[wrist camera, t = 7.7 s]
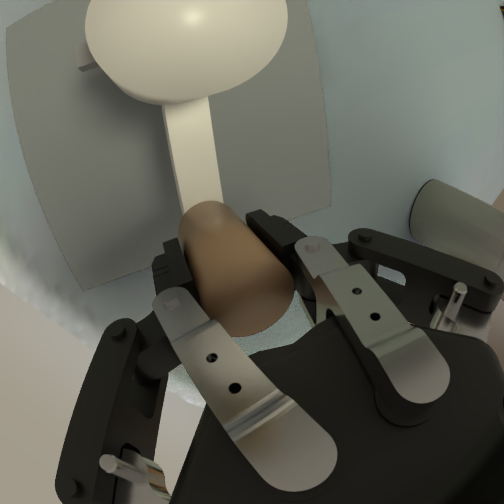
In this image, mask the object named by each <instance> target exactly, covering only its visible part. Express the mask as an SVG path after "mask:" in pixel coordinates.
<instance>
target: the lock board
mask: <svg viewBox="0 0 504 504" xmlns="http://www.w3.org/2000/svg"><path fill="white" fill-rule="evenodd" d="M90 1H91V0H55V1H53V2H51V3H49V4H47V5H45V6H43V7H41V8H39V9H37V10H36V11H34V12H32V13H30V14H28V15H27V16H25V17H23V18H22V19H20V20H18V21H17V22H15V23H13V24H12V25H10V26H9V27H7V28H6V55H7V70H8V80H9V88H10V96H11V102H12V108H13V113H14V118H15V123H16V128H17V132H18V136H19V140H20V144H21V148H22V152H23V155H24V159H25V162H26V165H27V169H28V172H29V175H30V178H31V181H32V184H33V186H34V189H35V192H36V195H37V197H38V200H39V203H40V205H41V208H42V210H43V213H44V215H45V217H46V220H47V222H48V224H49V227H50V229H51V231H52V233H53V235H54V238H55V240H56V242H57V244H58V246H59V248H60V250H61V252H62V254H63V256H64V258H65V260H66V262H67V264H68V266H69V267H70V269H71V271H72V273H73V275H74V277H75V278H76V280H77V282H78V284H79V285H80V287H81V289H82V290H83V291H85V290H88V289H91V288H93V287H96V286H99V285H101V284H104V283H107V282H109V281H112V280H115V279H118V278H120V277H123V276H126V275H129V274H131V273H134V272H137V271H140V270H142V269H145V268H148V267H151V266H152V262H153V260H154V258H155V257H156V256H158V255H161V254H164V253H165V252H164V248H163V242H165V241H168V240H171V239H173V238H176V237H177V238H178V227H179V223H180V220H181V218H182V217H183V214H182V210H181V206H180V201H179V197H178V192H177V187H176V183H175V178H174V173H173V168H172V163H171V158H170V153H169V147H168V142H167V136H166V131H165V125H164V119H163V113H162V107H161V105H153V104H148V103H145V102H142V101H139V100H136V99H134V98H132V97H130V96H129V95H127V94H126V93H124V92H123V91H122V90H121V89H120V88H119V87H118V86H117V85H116V84H115V83H114V82H113V81H112V80H111V79H110V77H109V76H108V75H107V74H106V73H105V72H104V71H103V69H102V68H101V67H100V66H99V67H96V68H93V69H90V70H88V71H85V72H82V71H80V70H79V69H78V68H77V62H76V49H75V45H76V44H79V43H81V42H84V41H86V34H85V18H86V14H87V9H88V6H89V4H90ZM285 1H286V5H287V12H288V21H287V29H286V33H285V37H284V39H283V42H282V44H281V46H280V48H279V50H278V51H277V53H276V55H275V56H274V57H273V58H272V60H271V61H270V62H269V63H268V64H267V65H266V66H265V67H264V68H263V69H262V70H261V71H260V72H258V73H257V74H256V75H254V76H253V77H252V78H250V79H249V80H247V81H245V82H243V83H242V84H240V85H238V86H235V87H233V88H231V89H229V90H225V91H222V92H219V93H216V94H213V95H210V96H208V101H209V108H210V115H211V123H212V130H213V137H214V143H215V150H216V157H217V164H218V170H219V177H220V183H221V190H222V196H223V202H224V204H226V205H228V206H229V207H230V208H231V209H232V210H233V211H234V212H235V213H236V214H237V215H238V216H239V217H240V218H241V220H242V221H243V222H244V223H245V224H246V218H245V215H246V213H249V212H252V211H255V210H258V209H262V210H263V211H265V212H266V213H267V214H268V215H269V216H272V215H276V216H280V217H283V218H284V219H286V220H289V219H292V218H295V217H298V216H301V215H304V214H308V213H311V212H314V211H317V210H320V209H323V208H326V207H330V206H331V185H330V166H329V151H328V138H327V127H326V116H325V107H324V98H323V90H322V83H321V76H320V69H319V62H318V56H317V50H316V44H315V39H314V33H313V28H312V23H311V18H310V14H309V9H308V5H307V0H285ZM246 225H247V224H246ZM178 241H179V238H178ZM179 243H180V242H179ZM180 246H181V245H180ZM181 249H182V248H181ZM182 252H183V251H182ZM183 255H184V254H183Z"/></svg>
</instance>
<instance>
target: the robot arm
mask: <svg viewBox="0 0 504 504" xmlns="http://www.w3.org/2000/svg"><path fill="white" fill-rule="evenodd" d="M245 218H246V224H247V226H248V227H249V228H250V229H251V230H252V231H253V232H254V234H255V235H256V236H257V237H258V238H259V239H260V240H261V241H262V242H263V243H264V244H265V245H266V247H267V248H268V249H269V250H270V251H271V252H272V253H273V254H274V255H275V256H276V257H277V259H278V260H279V261H280V262H281V263H282V264H283V265H284V266H285V267H286V268H287V269H288V271H289V272H290V273H291V275H292V277H293V280H294V286H295V289H294V291H295V290H297V291H298V293H299V302H300V304H301V306H302V308H303V310H304V312H305V314H306V316H307V318H308V321H309V323H310V325H311V327H312V329H311V330H310V331H308V332H307V333H306V334H305V335H304V336H302V337H301V338H300V339H299V340H297V341H296V342H295V343H293V344H290V345H286V346H282V347H277V348H273V349H268V350H264V351H259V352H257V353H254V354H252V355H249V356H247V355H246V354H245V353H244V351H243V350H242V349H241V348H240V347H239V346H238V345H237V343H236V342H235V341H234V340H233V339H232V338H231V337H230V335H229V334H228V333H227V332H226V331H225V330H224V328H223V327H222V326H221V325H220V324H219V322H218V321H217V320H216V319H212V320H210V318H209V317H208V316H207V315H206V313H205V312H204V311H203V308H202V306H201V302H200V298H199V295H198V292H197V290H196V287H195V285H194V282H193V279H192V277H191V274H190V271H189V269H188V266H187V263H186V260H185V258H184V255H183V252H182V249H181V246H180V243H179V241H178V238H177V237H176V238H173V239H171V240H168V241H165V242H163V248H164V252H165V253H164V254H161V255H158V256H156V257H155V258H154V260H153V262H152V271H153V277H154V284H155V290H156V297H155V299H154V301H153V304H152V307H153V311H152V312H151V313H150V314H149V315H148V316H147V317H146V318H144V319H143V320H141V321H139V322H138V323H135V322H134V321H133V320H132V319H128V318H123V319H119V320H116V321H114V322H113V323H111V324H110V325H109V326H108V327H107V328H106V329H105V331H104V333H103V335H102V337H101V340H100V342H99V344H98V347H97V349H96V351H95V354H94V356H93V359H92V362H91V364H90V366H89V369H88V372H87V374H86V377H85V380H84V382H83V385H82V388H81V390H80V394H79V396H78V399H77V402H76V405H75V408H74V411H73V414H72V417H71V420H70V424H69V427H68V431H67V434H66V438H65V441H64V445H63V448H62V452H61V456H60V461H59V465H58V469H57V474H56V479H55V489H56V493H57V495H58V497H59V499H60V501H61V502H62V503H63V504H504V372H503V370H502V368H501V365H500V362H499V360H498V357H497V355H496V354H495V352H494V351H493V349H492V348H491V347H490V346H489V345H488V344H487V339H488V334H489V327H490V321H491V316H492V314H493V312H494V310H495V308H496V306H497V304H498V302H499V300H500V299H502V300H503V301H504V212H502V211H500V210H498V209H497V208H494V207H493V206H491V205H489V204H487V203H485V202H483V201H481V200H479V199H477V198H475V197H473V196H471V195H469V194H467V193H465V192H463V191H461V190H459V189H457V188H455V187H452V186H450V185H448V184H445V183H443V182H441V181H438V180H431V181H429V182H428V183H427V184H426V185H425V186H424V187H423V188H422V189H421V191H420V192H419V194H418V196H417V198H416V201H415V203H414V206H413V209H412V213H411V219H410V230H411V234H412V236H413V237H414V238H415V239H417V240H418V241H420V242H421V243H423V244H425V245H426V246H428V247H429V248H428V247H425V246H422V245H419V244H416V243H413V242H410V241H407V240H404V239H401V238H398V237H395V236H391V235H388V234H385V233H382V232H379V231H375V230H372V229H367V228H359V229H355V230H353V231H351V232H350V233H349V235H348V242H345V243H339V244H331V243H330V242H329V241H328V240H327V239H325V238H323V237H319V236H309V237H308V236H307V235H305V234H304V233H303V232H301V231H300V230H299V229H298V228H296V227H294V225H292V224H291V223H289V222H288V221H287V220H286V219H284V218H283V217H280V216H276V215H272V216H269V215H268V214H267V213H266V212H265V211H263V210H262V209H258V210H255V211H252V212H249V213H246V215H245ZM379 264H380V265H383V266H385V267H388V268H391V269H394V270H396V271H399V272H401V273H402V274H403V275H404V276H405V278H406V283H405V286H403V285H400V284H398V283H395V282H393V281H390V280H388V279H385V278H382V277H380V276H377V273H378V266H379ZM407 321H408V322H410V323H413V324H415V325H413V324H409V323H408V322H407ZM181 363H182V364H183V366H184V368H185V369H186V371H187V373H188V374H189V376H190V378H191V379H192V381H193V382H194V384H195V386H196V387H197V389H198V390H199V392H200V394H201V395H202V397H203V398H204V400H205V401H206V405H205V408H204V411H203V413H202V416H201V419H200V421H199V424H198V427H197V429H196V432H195V435H194V438H193V440H192V443H191V446H190V448H189V451H188V454H187V456H186V459H185V462H184V464H183V467H182V470H181V472H180V475H179V477H178V480H177V483H176V485H175V488H174V491H173V493H172V496H170V494H169V493H168V491H167V489H166V485H165V476H164V473H163V470H162V469H161V468H160V466H159V465H158V464H156V463H155V462H154V455H155V448H156V442H157V435H158V430H159V424H160V418H161V412H162V407H163V402H164V396H165V391H166V386H167V381H168V372H170V371H171V370H173V369H174V368H176V367H177V366H178V365H180V364H181Z"/></svg>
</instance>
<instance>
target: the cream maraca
mask: <svg viewBox="0 0 504 504" xmlns="http://www.w3.org/2000/svg"><path fill="white" fill-rule="evenodd" d="M287 21H288V12H287V5H286V1H285V0H91V1H90V4H89V6H88V9H87V14H86V18H85V34H86V41H84V42H81V43H79V44H76V45H75V49H76V62H77V68H78V69H79V70H80V71H82V72H85V71H88V70H90V69H93V68H96V67H99V66H100V67H101V68H102V69H103V71H104V72H105V73H106V74H107V75H108V76H109V77H110V79H111V80H112V81H113V82H114V83H115V84H116V85H117V86H118V87H119V88H120V89H121V90H122V91H123V92H124V93H126V94H127V95H129V96H130V97H132V98H134V99H136V100H139V101H142V102H145V103H148V104H153V105H161V107H162V113H163V119H164V125H165V131H166V136H167V142H168V147H169V153H170V158H171V163H172V168H173V173H174V178H175V183H176V187H177V192H178V197H179V201H180V206H181V210H182V214H183V217H182V218H181V220H180V223H179V227H178V238H179V242H180V245H181V248H182V251H183V254H184V257H185V260H186V263H187V266H188V269H189V271H190V274H191V277H192V279H193V282H194V285H195V287H196V290H197V292H198V295H199V298H200V302H201V306H202V308H203V311H204V312H205V313H206V315H207V316H208V317H209V318H210V320H212V319H216V320H217V321H218V322H219V324H220V325H221V326H222V327H223V328H224V330H225V331H226V332H227V333H228V334H229V335H230V337H245V336H250V335H254V334H257V333H259V332H261V331H263V330H265V329H267V328H269V327H270V326H272V325H273V324H274V323H276V322H277V321H278V320H279V319H280V318H281V317H282V316H283V315H284V313H285V312H286V311H287V309H288V308H289V306H290V304H291V302H292V299H293V296H294V289H295V286H294V280H293V277H292V275H291V273H290V272H289V271H288V269H287V268H286V267H285V266H284V265H283V264H282V263H281V262H280V261H279V260H278V259H277V257H276V256H275V255H274V254H273V253H272V252H271V251H270V250H269V249H268V248H267V247H266V245H265V244H264V243H263V242H262V241H261V240H260V239H259V238H258V237H257V236H256V235H255V234H254V232H253V231H252V230H251V229H250V228H249V227H248V226H247V225H246V224H245V223H244V222H243V221H242V220H241V218H240V217H239V216H238V215H237V214H236V213H235V212H234V211H233V210H232V209H231V208H230V207H229V206H228V205H226V204H224V202H223V196H222V190H221V183H220V177H219V170H218V164H217V157H216V150H215V143H214V137H213V130H212V123H211V115H210V108H209V101H208V96H210V95H213V94H216V93H219V92H222V91H225V90H229V89H231V88H233V87H235V86H238V85H240V84H242V83H243V82H245V81H247V80H249V79H250V78H252V77H253V76H254V75H256V74H257V73H258V72H260V71H261V70H262V69H263V68H264V67H265V66H266V65H267V64H268V63H269V62H270V61H271V60H272V58H273V57H274V56H275V55H276V53H277V51H278V50H279V48H280V46H281V44H282V42H283V39H284V37H285V33H286V29H287Z"/></svg>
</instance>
